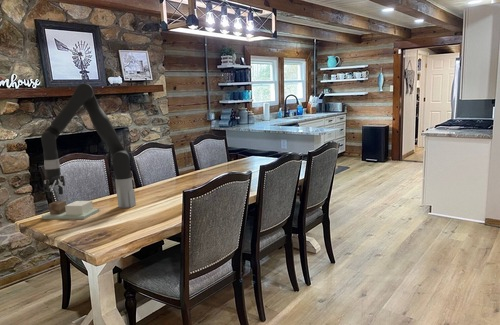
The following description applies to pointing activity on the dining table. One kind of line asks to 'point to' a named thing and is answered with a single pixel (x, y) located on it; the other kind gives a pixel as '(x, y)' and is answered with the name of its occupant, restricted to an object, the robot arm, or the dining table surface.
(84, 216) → the serving board
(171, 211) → the dining table surface
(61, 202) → the walnut cube
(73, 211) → the block
